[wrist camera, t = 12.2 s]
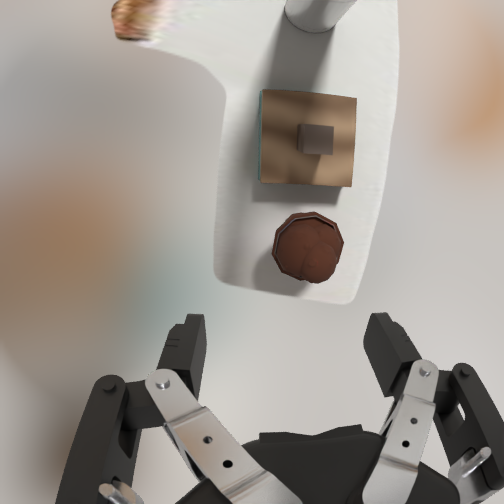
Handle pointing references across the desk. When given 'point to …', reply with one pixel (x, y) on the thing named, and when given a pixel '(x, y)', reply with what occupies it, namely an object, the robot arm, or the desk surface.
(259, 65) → the desk surface
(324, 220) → the ice cream bowl
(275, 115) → the walnut cover
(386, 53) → the desk surface
